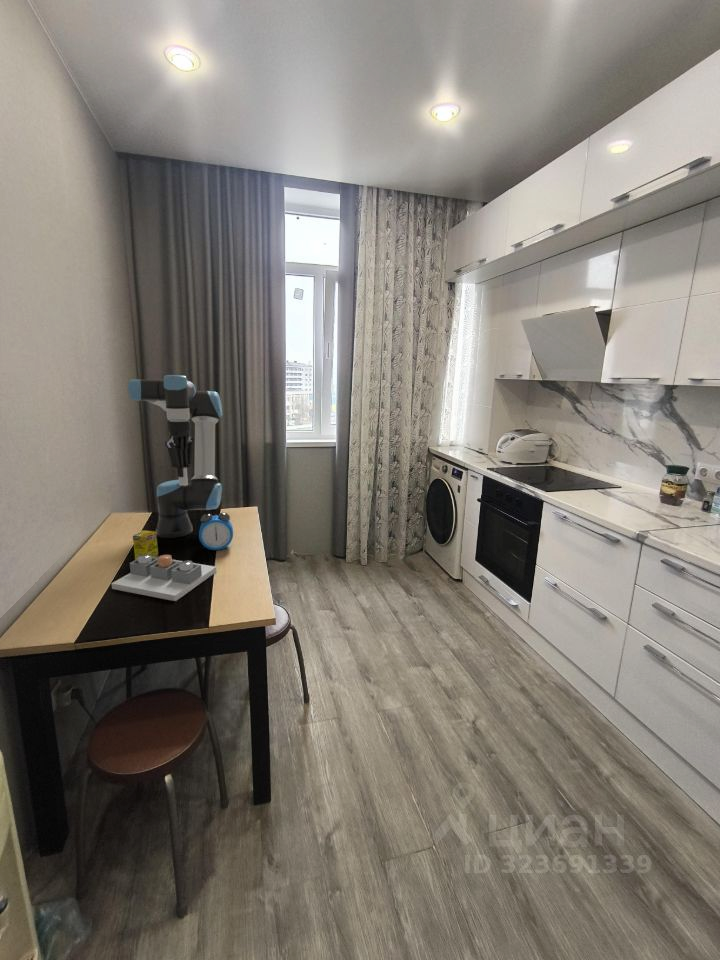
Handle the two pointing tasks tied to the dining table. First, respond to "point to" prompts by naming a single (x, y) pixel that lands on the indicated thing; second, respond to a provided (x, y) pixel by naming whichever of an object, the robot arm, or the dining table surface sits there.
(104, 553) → the dining table surface
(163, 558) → the brown egg
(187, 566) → the silver egg
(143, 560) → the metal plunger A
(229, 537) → the alarm clock
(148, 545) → the supplement box
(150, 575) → the button board
